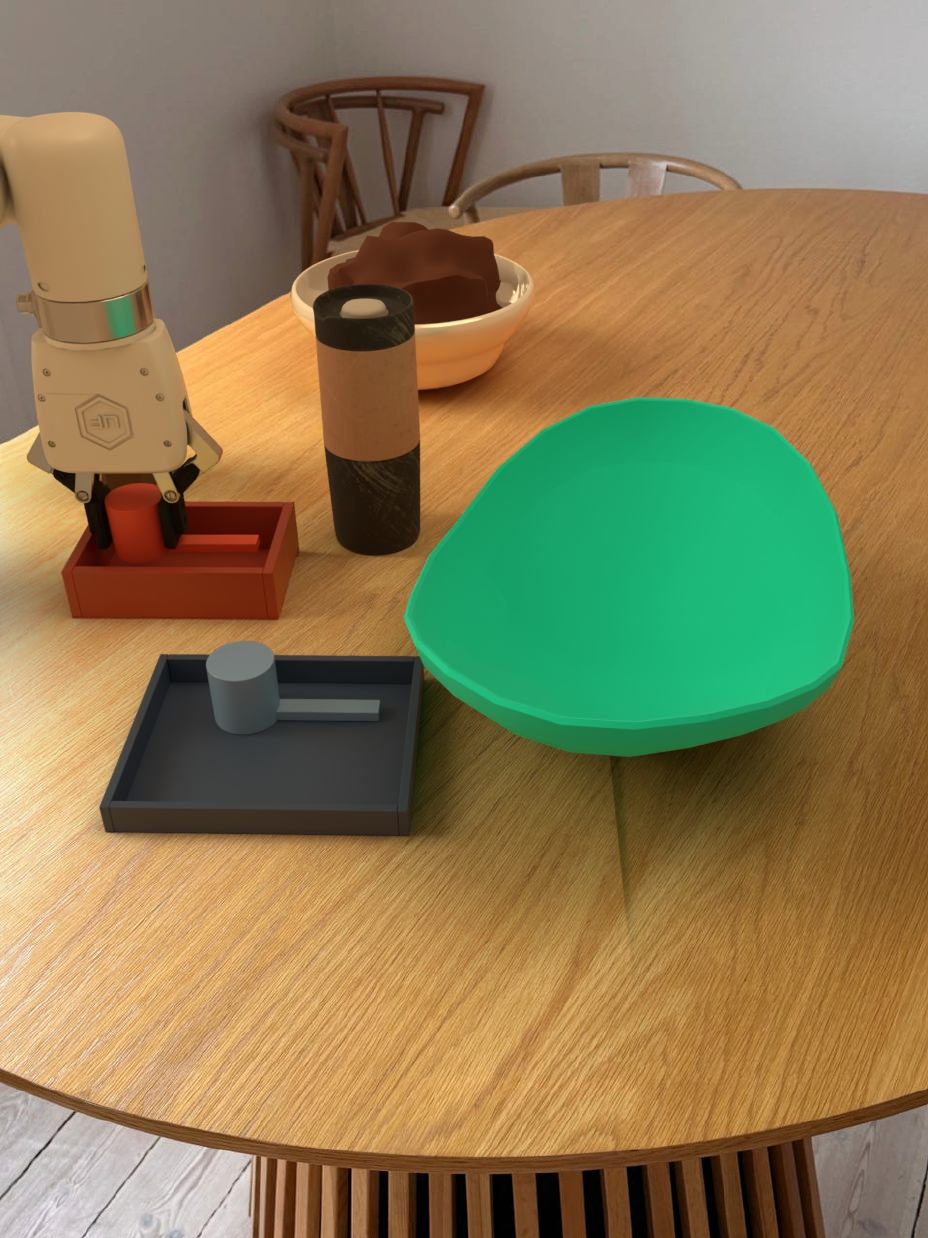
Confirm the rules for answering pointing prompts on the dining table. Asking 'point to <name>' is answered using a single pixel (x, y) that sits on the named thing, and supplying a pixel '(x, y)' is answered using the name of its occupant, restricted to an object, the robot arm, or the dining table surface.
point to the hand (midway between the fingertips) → (141, 537)
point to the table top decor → (640, 583)
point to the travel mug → (370, 415)
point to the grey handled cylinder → (267, 693)
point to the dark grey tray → (271, 755)
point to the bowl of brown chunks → (434, 295)
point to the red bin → (192, 570)
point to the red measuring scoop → (157, 528)
